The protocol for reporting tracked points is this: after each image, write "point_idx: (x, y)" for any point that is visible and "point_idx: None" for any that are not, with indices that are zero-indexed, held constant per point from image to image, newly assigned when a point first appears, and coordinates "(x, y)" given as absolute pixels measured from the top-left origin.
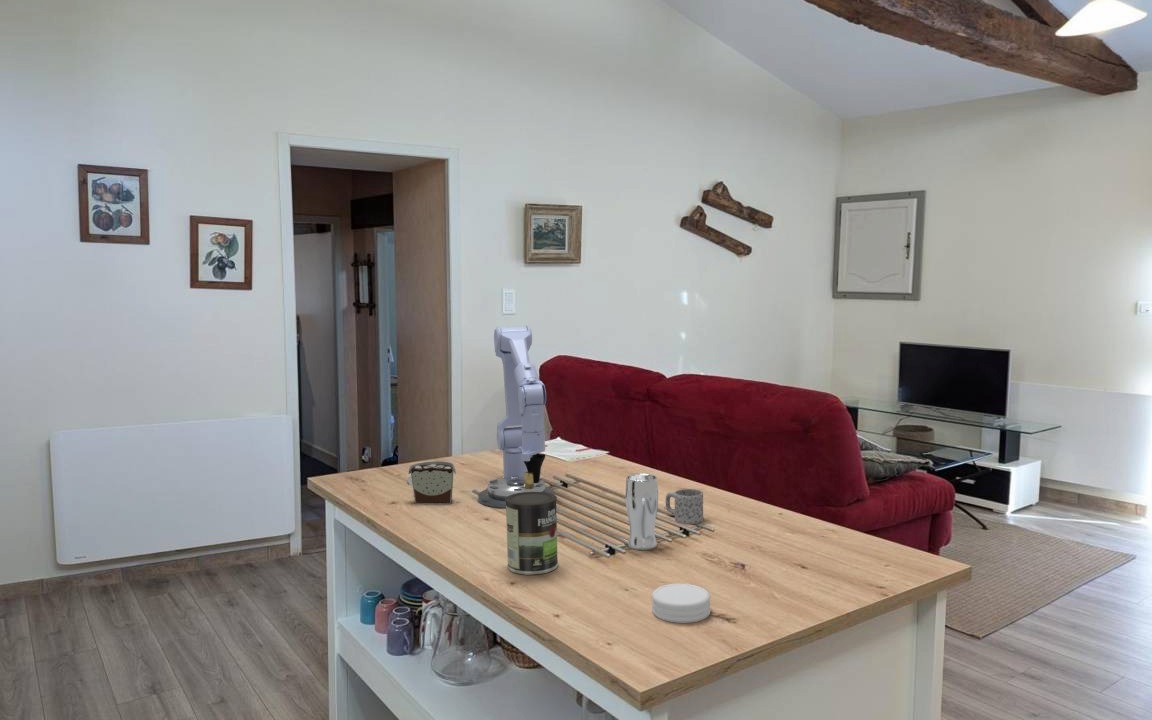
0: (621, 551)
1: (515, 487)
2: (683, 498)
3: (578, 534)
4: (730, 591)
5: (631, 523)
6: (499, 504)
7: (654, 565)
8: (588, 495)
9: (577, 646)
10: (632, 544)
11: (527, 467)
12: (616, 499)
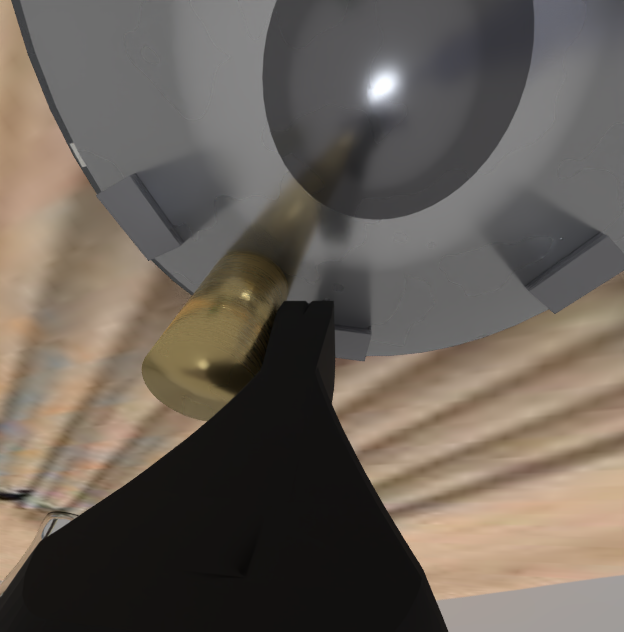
0: (22, 505)
1: (217, 157)
2: None
3: (38, 453)
4: (12, 562)
5: (7, 575)
6: (37, 61)
7: (11, 529)
8: (450, 435)
9: None
10: (41, 524)
11: (227, 414)
12: (395, 492)
